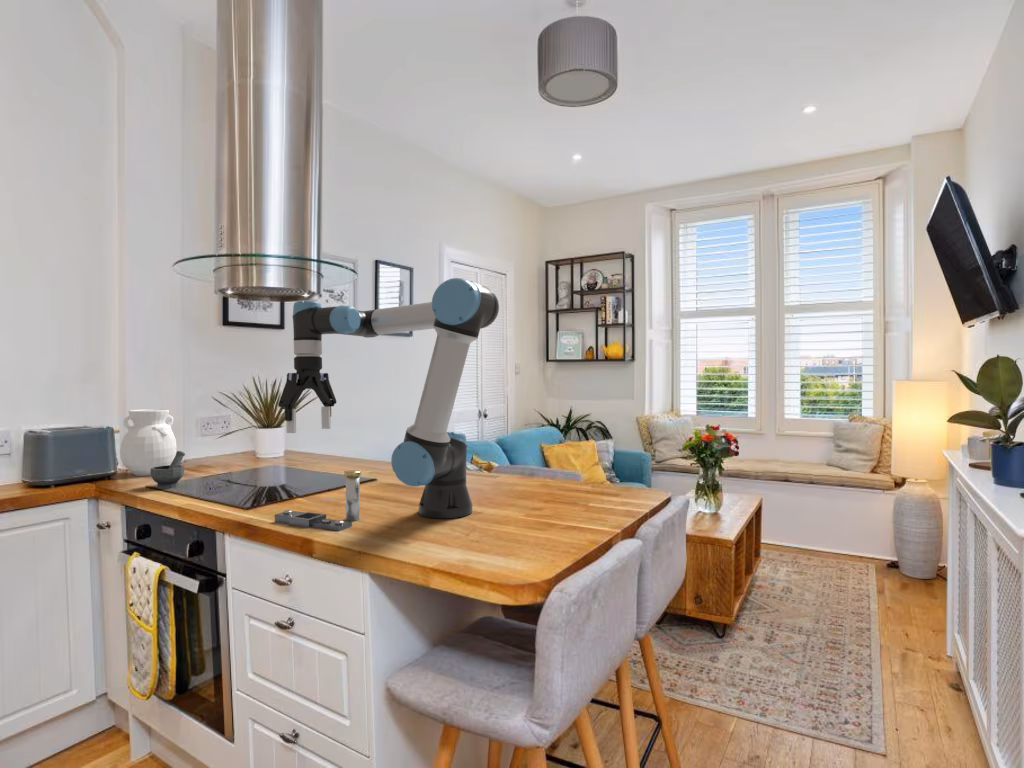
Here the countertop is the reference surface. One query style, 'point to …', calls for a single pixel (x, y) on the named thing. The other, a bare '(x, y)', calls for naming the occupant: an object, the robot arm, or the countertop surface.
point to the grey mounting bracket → (310, 520)
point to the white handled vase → (148, 441)
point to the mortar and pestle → (169, 473)
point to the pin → (352, 495)
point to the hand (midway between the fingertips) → (309, 430)
